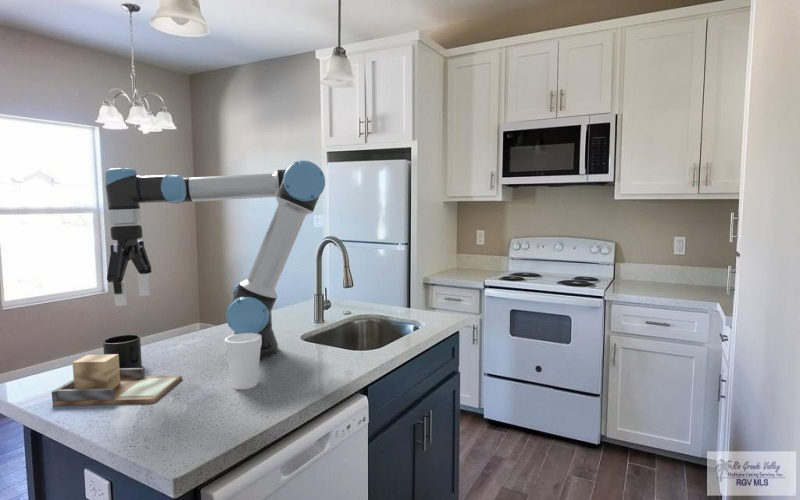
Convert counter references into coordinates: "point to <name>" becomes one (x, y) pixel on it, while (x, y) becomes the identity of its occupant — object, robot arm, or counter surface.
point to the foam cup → (243, 359)
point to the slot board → (118, 390)
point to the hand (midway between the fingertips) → (133, 300)
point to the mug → (125, 350)
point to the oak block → (96, 371)
